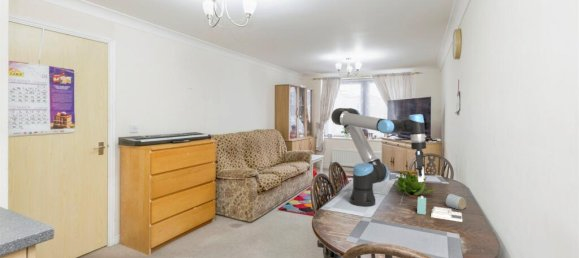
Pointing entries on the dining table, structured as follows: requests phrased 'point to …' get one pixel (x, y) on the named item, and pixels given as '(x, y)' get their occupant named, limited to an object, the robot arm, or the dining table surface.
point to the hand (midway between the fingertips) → (421, 180)
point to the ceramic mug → (455, 202)
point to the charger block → (421, 205)
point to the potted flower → (411, 184)
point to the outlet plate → (446, 214)
